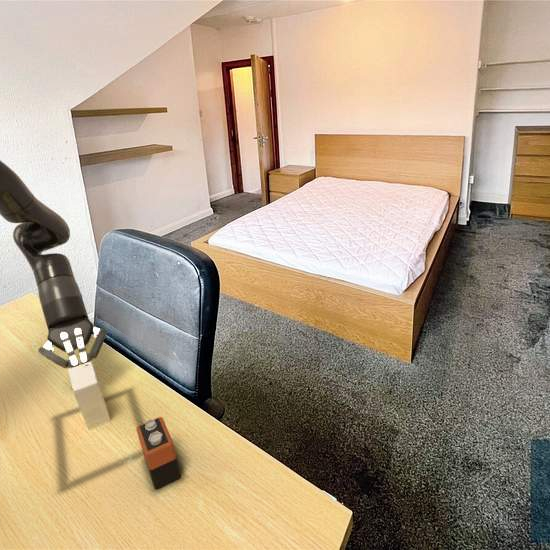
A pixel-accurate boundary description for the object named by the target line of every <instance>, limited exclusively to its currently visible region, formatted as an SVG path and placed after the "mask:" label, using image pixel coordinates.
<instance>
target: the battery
mask: <svg viewBox="0 0 550 550" xmlns="http://www.w3.org/2000/svg"><path fill="white" fill-rule="evenodd" d="M136 432H137V433H136V434H137V436H138V440H139V444H140V446H141V450H142V454H143V457H144V461H145V464H146V467H147V470H148V474H149V476H150V479H151V483H152V486H153V488H154V490H156V491H158V490H160V489H163V488H165V487H167V486H168V485H171V484H173V483H175V482H177V481H179V480H180V479H182V474H181V470H180V466H179V461H178V457H177V454H176V449H175V446H174V441H173V438H172V437H171V434H170V432H169V430H168V427H167V425H166V422H165V420H164V418H163V417H162V416H159V417H157V418H154V419H148V420H147V421H145V422H144V423H142V424H140V425H137V426H136Z"/></svg>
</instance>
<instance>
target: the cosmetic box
mask: <svg viewBox="0 0 550 550" xmlns="http://www.w3.org/2000/svg"><path fill="white" fill-rule="evenodd" d="M95 370H96V369H95V368H94V365H93V362H92V360H91V361H90V362H87V363H84V364H81V363H80V365H79V366H76V367H73V368H67V372H68V373H67V374H68V377H69V381H70V384H71V387H72V392H73V394H74V397H75V399H76V402H77V405H78V408H79V410H80V412H81V415H82V417H83V420H84V423H85V425H86V428H87V430H88V431H90V430H92V429H95V428H97V427H100V426H102V425H104V424H107V423H109V422H111V416H110V413H109V410H108V406H107V403H106V401H105V400H106V399H105V398H104V395H103V391H102V388H101V386H100V383H99V379H98V377H97V374H96V371H95Z"/></svg>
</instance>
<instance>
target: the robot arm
mask: <svg viewBox="0 0 550 550" xmlns="http://www.w3.org/2000/svg"><path fill="white" fill-rule="evenodd" d="M0 217H2V219H4V220H5V221H6V222H8V223H11V224H18V225H16V226H15V227H14V229H13V232H12V239H13V241H14V243H15V245H16V246H17V248H18V249H19V250H20V252H21V253H22V255H23V257H25V259H26V261H27V263H28V264H29V266H30V269H31V270H32V272H33V273H32V274H33V276H34V279H35V283H36V286H37V291H38V298H39V303H40V306H41V310H42V313H43V316H44V320H45V324H46V327H47V331H48V333H47V336H46V338H47V341H46V342H45V343H44V345H43V346H40V347H38V350H37V351H38V353H39V354H40V356H42V357H44V358H46V359H48V360H49V361H51V362H52V363H54V364H56V365H57V366H59V367H61V368H63V369H70V368H73V367H76V366H79V365H81V364H84V363H87V362H90V361H91V362H92V360H95V359H97V358H98V355H99V353H100V351H101V349H102V346H103V343H104V341H105V339H106V338H107V334H108V333H107V330H106V328H104V327H101V328H100V327H96V326H95V325H94V323H93V322H92V321H90V318H89V315H88V312H87V309H86V305H85V303H84V298H83V295H82V293H81V289H80V287H79V285H78V283H77V280H76V278H75V274H74V272H73V269H72V265H71V261H70V259H69V257H68V256H66V255H64V254H63V253H59V252H58V253H55V252H54V253H53V252H52V253H45V254H44V252H46V251H50V250H52V249H55V248H58V247H60V246H62V245H65V244H66V243H68V241H69V240H70V238H71V230H70V227H69V224H68V223H67V222H66V220H65V219H64V218H63V217H62V216H61V215H60V214H58V213H57V212H55V210H53V209H51V208H50V207H49V206H47V205H46V204H44V203H43V202H42V201H41V200H39V198H37V197H36V196H35V195H34V194H33V192H32V191H31V190H30V188H29V187H28V186H27V185H26V184H25V182H24V181H23V180H22V178H21V177H20V176H19V175H18V174H17V173H16V172H15V171H14V170H13V169H12V168H10V166H8V165H7V164H6V163H5V162H3V161H2V160H1V159H0ZM92 336H93V338H94V339H95V340H94V341H93V344H92V346H91V349H90V350H89V352H88V351H87V346H88V345H89V343H90V341H91V338H92ZM54 347H56V348H57V349H59V350H60V351H62V352H64V353H67V356H68V359H65V358H63V357H61V356H60V355H58V354H56V353H55V349H54ZM76 350H78V354H79V359H78V356H77V353H76Z"/></svg>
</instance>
